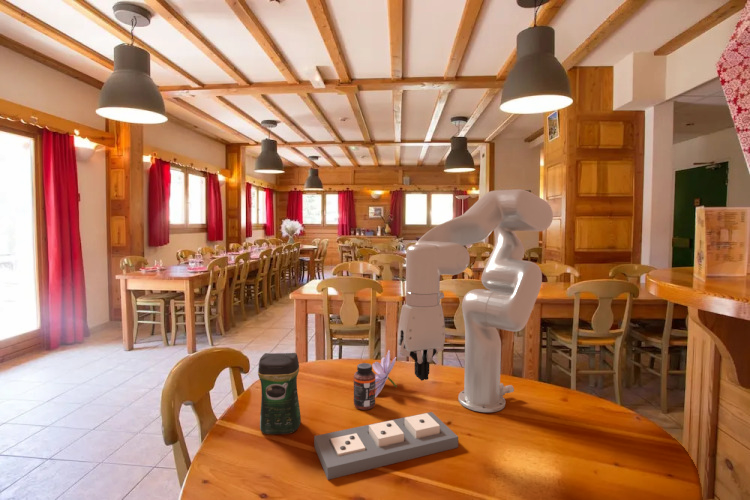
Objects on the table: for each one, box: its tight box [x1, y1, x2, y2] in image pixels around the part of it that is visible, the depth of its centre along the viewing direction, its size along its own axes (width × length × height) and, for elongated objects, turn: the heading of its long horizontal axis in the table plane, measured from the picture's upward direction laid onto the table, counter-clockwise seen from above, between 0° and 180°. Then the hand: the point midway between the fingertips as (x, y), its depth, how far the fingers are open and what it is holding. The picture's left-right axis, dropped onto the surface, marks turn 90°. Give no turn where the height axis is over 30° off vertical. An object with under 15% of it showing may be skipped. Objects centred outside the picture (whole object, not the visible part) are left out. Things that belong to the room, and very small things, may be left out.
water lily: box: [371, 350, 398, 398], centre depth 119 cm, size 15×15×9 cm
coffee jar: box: [257, 352, 302, 435], centre depth 96 cm, size 10×8×19 cm
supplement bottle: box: [353, 362, 376, 411], centre depth 107 cm, size 6×6×11 cm
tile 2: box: [368, 419, 404, 447], centre depth 88 cm, size 6×6×3 cm
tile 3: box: [331, 433, 365, 457], centre depth 85 cm, size 6×6×3 cm
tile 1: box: [405, 412, 440, 439], centre depth 91 cm, size 6×6×3 cm
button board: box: [313, 411, 459, 481], centre depth 88 cm, size 30×12×2 cm, turn 111°
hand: (421, 377), depth 90 cm, fingers closed
